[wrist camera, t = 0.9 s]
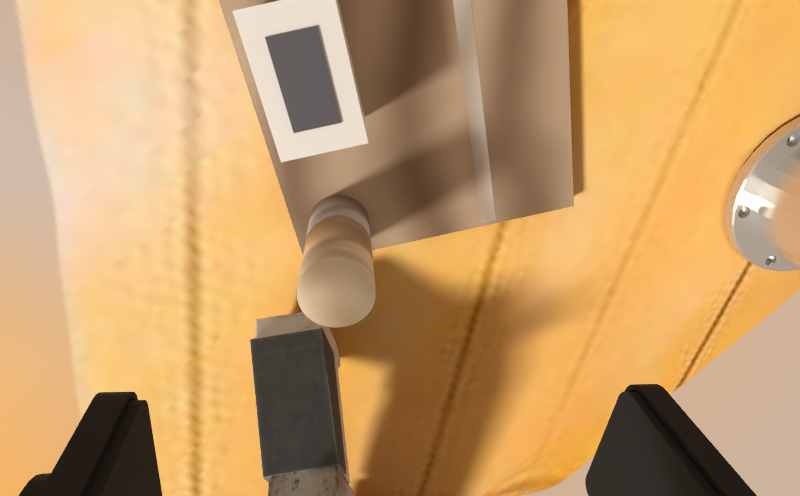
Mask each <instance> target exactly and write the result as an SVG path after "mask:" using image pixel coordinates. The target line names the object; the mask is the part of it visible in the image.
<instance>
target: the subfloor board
mask: <svg viewBox="0 0 800 496" xmlns="http://www.w3.org/2000/svg"><path fill="white" fill-rule="evenodd" d="M274 1H279V0H219V2H220V5H221V8H222V11H223V14H224V17H225V20H226V23H227V26H228V29H229V32H230V35H231V38H232V41H233V44H234V47H235V50H236V53H237V56H238V59H239V62H240V65H241V68H242V72H243V75H244V78H245V81H246V84H247V87H248V90H249V93H250V96H251V99H252V102H253V105H254V108H255V111H256V114H257V117H258V120H259V123H260V126H261V129H262V132H263V135H264V138H265V141H266V144H267V147H268V150H269V153H270V156H271V159H272V163H273V166H274V169H275V172H276V175H277V178H278V181H279V184H280V187H281V190H282V193H283V196H284V199H285V202H286V205H287V208H288V211H289V214H290V217H291V220H292V223H293V226H294V229H295V232H296V235H297V238H298V241H299V244H300V247H301V250H302V254H303V253H304V247H305V241H306V235H307V229H308V224H309V218H310V214H311V212H312V210H313V208H314V207H315V205H316V204H317V203H319V202H320V201H321V200H323V199H325V198H327V197H330V196H335V195H342V196H348V197H351V198H353V199H355V200H356V201H358V202H359V203H360V204H361V205H362V206H363V207H364V208H365V210H366V212H367V214H368V217H369V225H370V236H371V246H372V250H375V249H379V248H384V247H388V246H393V245H397V244H402V243H407V242H411V241H416V240H420V239H425V238H429V237H434V236H439V235H443V234H448V233H452V232H457V231H461V230H466V229H471V228H475V227H480V226H484V225H489V224H493V223H498V222H503V221H507V220H512V219H516V218H521V217H525V216H530V215H534V214H539V213H544V212H548V211H553V210H557V209H562V208H566V207H571V206H574V196H573V165H572V134H571V103H570V71H569V40H568V9H567V0H338V2H339V6H340V10H341V15H342V19H343V24H344V28H345V32H346V37H347V41H348V46H349V50H350V54H351V59H352V63H353V67H354V72H355V76H356V81H357V85H358V89H359V94H360V98H361V103H362V107H363V111H364V116H365V122H366V129H367V136H368V143H367V144H363V145H358V146H353V147H349V148H344V149H340V150H335V151H331V152H326V153H322V154H317V155H313V156H308V157H304V158H299V159H294V160H290V161H285V162H281V161H280V158H279V155H278V152H277V148H276V145H275V142H274V139H273V136H272V133H271V130H270V127H269V124H268V120H267V117H266V114H265V111H264V108H263V105H262V102H261V99H260V95H259V92H258V89H257V86H256V83H255V80H254V77H253V74H252V71H251V67H250V64H249V61H248V58H247V55H246V52H245V49H244V46H243V43H242V39H241V36H240V33H239V30H238V27H237V24H236V21H235V18H234V15H233V11H234V10H238V9H243V8H247V7H252V6H256V5H261V4H265V3H270V2H274Z"/></svg>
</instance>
